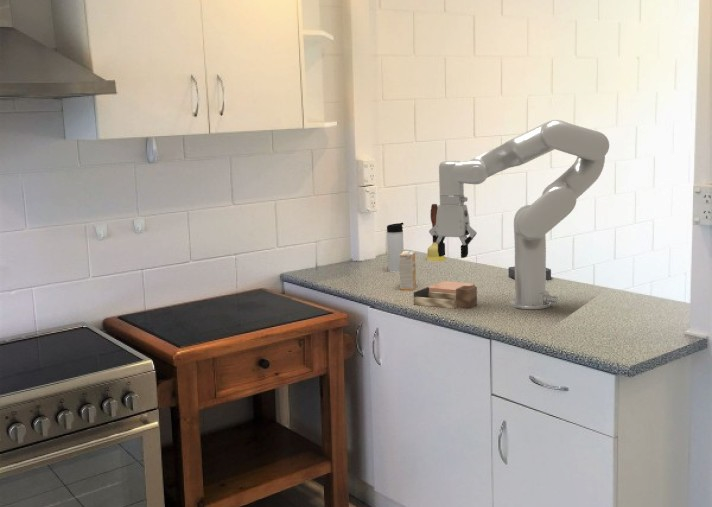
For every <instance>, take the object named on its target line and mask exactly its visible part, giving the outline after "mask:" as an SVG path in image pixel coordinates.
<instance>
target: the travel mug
mask: <svg viewBox="0 0 712 507" xmlns="http://www.w3.org/2000/svg"><path fill="white" fill-rule="evenodd" d="M404 224H405V223H404V222H399V223H393V224H392V223H391V224H388V225H386V241H387V243H386V244H387V249H386V250H387V271H388V270H389V271H395V272H394V273H399V272H398V271H400V260H399V255H400V254H401V253H402V252H403V251H404V250H405V249H404V230H403V229H404V227H403V226H404ZM389 271H388V272H389Z"/></svg>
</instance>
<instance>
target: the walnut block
mask: <svg viewBox="0 0 712 507" xmlns="http://www.w3.org/2000/svg"><path fill="white" fill-rule="evenodd" d="M477 305H478V287H477V286H476V285H475V286H462V287H460V288H457V289H456V302H455V309H465V310H466V309H467V310H470V309H472V308H474V307H477Z"/></svg>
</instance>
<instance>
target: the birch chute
mask: <svg viewBox="0 0 712 507" xmlns="http://www.w3.org/2000/svg"><path fill="white" fill-rule="evenodd" d="M429 287H430V286H426V287H424V288H422V289H419V290H416V291H413V305H414V306H415V305H416V306H425V307H435V308H444V309H456V294H449V293H438V292H429Z"/></svg>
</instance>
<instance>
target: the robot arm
mask: <svg viewBox="0 0 712 507" xmlns="http://www.w3.org/2000/svg"><path fill="white" fill-rule="evenodd" d="M609 149H610V142H609V139H608V137H607V135H605V134H604V133H603V132H600V131H598V130H593V129H590V128H587V127H583V126H579V125H575V124H572V123H569V122H566V121H563V120H561V119H551V120H549V121H547V122H544V123H543V124H540V125H538V126H536V127H534V128H532V129H530V130H527V131H526V132H524V133H522V134H520V135H519V134H518V135H517V136H515V137H513V138H511V139H510V140H508V141H505V142H504V143H502V144H500V145H499V146H497V147H495V148H493V149H491V150H489V151H486V152H484V153H482V154H480V155H478V156H476V157H473V158H471V159H470V160H469V161H467V160H466V161H460V160H447V161H442V162H440V163H439V164H438V177H439V178H438V180H439V181H438V184H439V205H438V204H437V206H438V209H437V216H436V225H435V226H434V227H433V228H430V229H429V230H428V233H429V235H430V236H432V237H431V238H432V240H433V239H434V240H435V241H436V243H437V244H438V253H439V256H440V257H441V256H444V257H445V255H446V244H445V242H444V241H445V239H446V238H447V237H448V238H458V239H459V240H460V242H461V245H460V258H461V259H464V258H467V257H468V254H469V245H470V243H471V241H473V240H474V238H475V237H476V235H477V231H476V230H475V229H473V228H472V226H471V224H470V216H469V215H470V214H469V210H468V206H467V204H465V202H466V203H467V202H468V197H467V196H465V194H464V190H465V189H464V188H465V186H464V185H465V184H467V185H480V184H483V183H484V182H486V180H487V178H490V177H492V176H494V175H496V174H498V173H500V172H502V171H505V170H508V169H511V168H514V167H519V166H522V165H525V164H527V163H529V162H532V161H534V160H535V159H537V158H539V157H541V156H544V155H546V154H548V153H550V152H551V151H554V150H557V151H559V152H562V153H565V154H569V155H572V156H574V157H575V156H576V158H575V161H574V162H573V164H572V165H571V166H570V167H569V168H568V169H566V171H564V172H563V173H562V174H561V175H560V176H559V177H557V178H556V179H555V180H553V182H552V183H550V184H548V185H547V186H546V187H545V188H544V190H543V191H542V194H541V195H540V196H539V197H538V198H537V199H536V200H535V201H534V202H533V203H531V204H527V205H524V206H522V207H520V208H519V209H518V210H517V211H516V213H515V215H514V216H513V217H514V218H513V234H514V237H513V238H514V267H515V280H514V299H511V300H510V301H509V304H510V306H511V307H513V308H515V309H520V310H541V309H542V310H543V309H547V308H550V307H551V306H552V303H555V304H557V303H559V297H558V295H551V294H550V291H549V290H547V281H546V268H547V263H546V262H547V257H546V256H547V244H546V240H547V238H546V236H547V235H546V234H548V233H549V232H550V231H551V230H552V229H554V227H556V226H557V225H558V224H559V223H561V222H562V221H563V220H564V219H566V218H567V217H568V216H569V215H570V214H571V213H572V212H573V210H574V209H575V208H576V205H577V199H579V198H580V197H581V196H582V195H583V194H584V193H585V192H586V191H587V190H589V189H590V188H591V186H592V185H593V184H595V183H596V182H597V180H598V179H599V177H600V176H601V174H602V172H603V169H604V166H605V162H606V155H607V154H608V152H609ZM435 231H436V232H435ZM436 233H437V234H436Z"/></svg>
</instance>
